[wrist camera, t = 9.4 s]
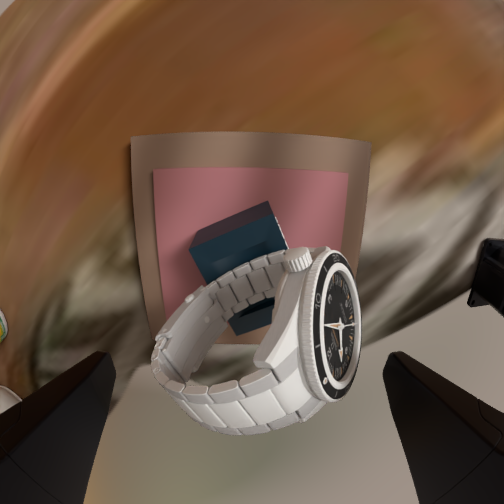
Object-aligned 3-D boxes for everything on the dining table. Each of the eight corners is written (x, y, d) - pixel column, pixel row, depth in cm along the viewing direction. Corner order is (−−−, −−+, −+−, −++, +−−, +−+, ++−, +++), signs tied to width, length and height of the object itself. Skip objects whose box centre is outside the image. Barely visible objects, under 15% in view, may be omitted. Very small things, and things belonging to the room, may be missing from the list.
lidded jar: (5, 411, 28) (-17, 449, 19) (-22, 363, 24) (-53, 403, 15) (53, 433, 28) (32, 479, 19) (25, 387, 24) (-6, 438, 16)
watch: (330, 270, 18) (409, 407, 7) (212, 315, 19) (190, 468, 8) (299, 185, 16) (393, 265, 6) (171, 240, 17) (86, 372, 6)
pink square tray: (364, 142, 16) (374, 142, 15) (338, 333, 21) (343, 344, 20) (136, 136, 16) (128, 136, 14) (155, 331, 21) (150, 343, 19)
